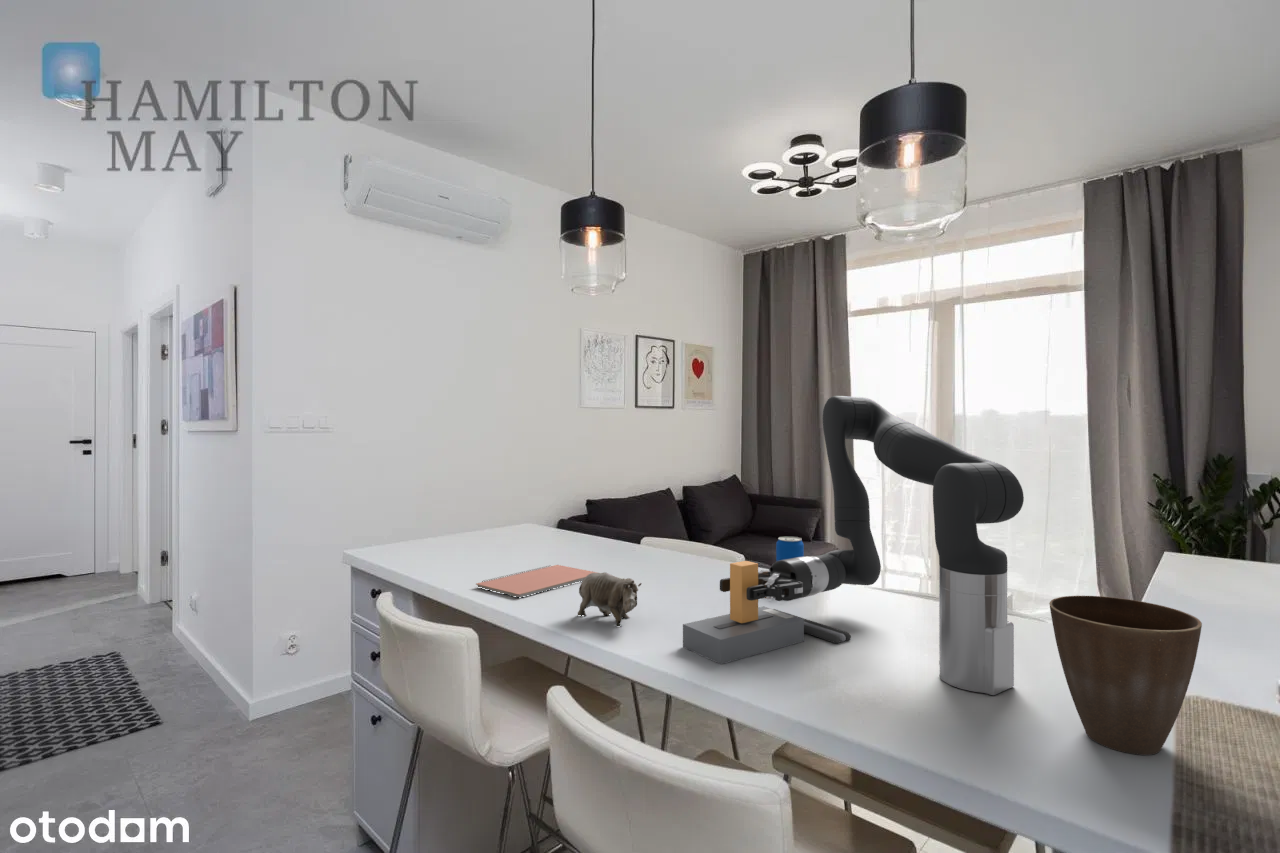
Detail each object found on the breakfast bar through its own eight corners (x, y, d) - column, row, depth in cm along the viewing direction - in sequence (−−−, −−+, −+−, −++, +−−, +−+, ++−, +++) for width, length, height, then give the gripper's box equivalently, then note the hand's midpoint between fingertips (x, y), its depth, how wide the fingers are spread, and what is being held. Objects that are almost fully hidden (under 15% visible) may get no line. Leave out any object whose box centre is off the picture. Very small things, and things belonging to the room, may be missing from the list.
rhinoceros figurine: (593, 594, 138) (617, 544, 131) (632, 642, 130) (659, 592, 123) (565, 604, 132) (589, 553, 125) (604, 655, 125) (631, 603, 118)
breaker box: (803, 641, 115) (803, 618, 115) (720, 664, 103) (720, 639, 104) (763, 626, 123) (763, 605, 123) (682, 646, 112) (682, 623, 112)
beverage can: (801, 585, 156) (801, 536, 156) (805, 591, 150) (805, 541, 150) (774, 584, 157) (774, 536, 157) (777, 591, 150) (777, 540, 150)
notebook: (554, 570, 175) (554, 563, 175) (599, 579, 164) (599, 571, 164) (472, 590, 154) (472, 581, 154) (518, 601, 143) (518, 593, 143)
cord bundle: (852, 640, 115) (852, 632, 115) (816, 651, 110) (816, 643, 110) (774, 614, 131) (774, 607, 131) (738, 622, 126) (738, 615, 126)
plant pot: (1179, 788, 68) (1179, 639, 68) (1028, 734, 80) (1028, 607, 80) (1218, 747, 76) (1217, 614, 77) (1076, 703, 89) (1076, 589, 89)
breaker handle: (758, 619, 113) (758, 563, 113) (741, 623, 111) (741, 566, 111) (746, 615, 116) (746, 560, 116) (730, 619, 113) (730, 563, 113)
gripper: (771, 551, 127) (707, 561, 118) (829, 564, 115) (763, 576, 106) (771, 589, 127) (707, 602, 118) (829, 605, 115) (763, 621, 106)
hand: (734, 589), depth 112 cm, fingers open, 6 cm apart
